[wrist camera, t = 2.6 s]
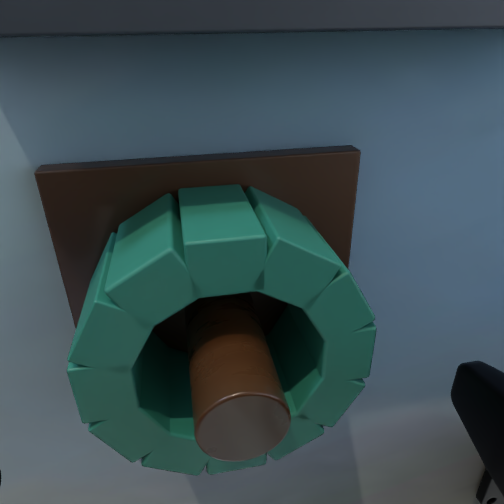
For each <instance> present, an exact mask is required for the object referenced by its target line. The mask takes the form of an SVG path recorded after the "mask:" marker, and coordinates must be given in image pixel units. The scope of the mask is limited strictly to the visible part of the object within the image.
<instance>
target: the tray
mask: <svg viewBox="0 0 504 504" xmlns="http://www.w3.org/2000/svg"><path fill="white" fill-rule="evenodd" d="M449 29H504V0H0V37H44V36H102V35H160V34H218V33H276V32H334V31H391V30H449Z"/></svg>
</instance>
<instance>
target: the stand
mask: <svg viewBox="0 0 504 504" xmlns="http://www.w3.org/2000/svg"><path fill="white" fill-rule="evenodd" d="M360 154H361V152H360V150H358V149H357V148H355V147H353V146H351V145H349V146H333V147H317V148H302V149H286V150H270V151H255V152H239V153H223V154H208V155H192V156H176V157H161V158H145V159H129V160H114V161H98V162H82V163H67V164H51V165H41V166H40V167H39V168H38V169H37V170H36V171H35V173H34V174H35V178H36V182H37V186H38V189H39V193H40V197H41V201H42V204H43V208H44V212H45V215H46V219H47V223H48V227H49V230H50V234H51V238H52V242H53V245H54V249H55V253H56V256H57V260H58V264H59V268H60V271H61V275H62V279H63V283H64V286H65V290H66V294H67V297H68V301H69V305H70V309H71V312H72V316H73V320H74V324H75V327H76V328H77V325H78V321H79V318H80V315H81V311H82V308H83V305H84V301H85V298H86V294H87V291H88V288H89V284H90V281H91V278H92V276H93V274H94V271H95V269H96V267H97V265H98V262H99V260H100V258H101V256H102V253H103V251H104V249H105V247H106V244H107V242H108V240H109V237H110V235H111V233H112V232H114V233H117V232H118V228H119V225H120V224H121V223H123V222H124V221H126V220H127V219H129V218H130V217H132V216H133V215H135V214H136V213H138V212H139V211H141V210H142V209H144V208H145V207H147V206H149V205H150V204H152V203H153V202H155V201H156V200H158V199H159V198H161V197H162V196H164V195H165V194H167V193H170V194H171V195H172V196H173V197H174V199H175V200H176V201H177V203H178V204H179V197H178V190H179V189H181V188H194V187H207V186H220V185H233V184H239V185H240V186H241V188H242V190H243V191H244V193H245V192H246V190H247V188H248V187H249V186H252V187H254V188H256V189H258V190H260V191H262V192H264V193H266V194H268V195H270V196H272V197H274V198H276V199H279V200H281V201H283V202H285V203H287V204H289V205H291V206H293V207H295V208H297V209H298V210H299V211H300V212H301V214H302V215H303V216H306V217H307V218H308V219H309V221H310V222H311V223H312V225H313V226H314V227H315V228H316V230H317V231H318V232H319V233H320V235H321V236H322V237H323V238H324V240H325V241H326V242H327V243H328V245H329V246H330V247H331V248H332V250H333V251H334V252H335V253H336V255H337V256H338V257H339V259H340V260H341V261H342V262H343V264H344V265H345V266H346V267H347V269H348V266H349V257H350V247H351V238H352V229H353V219H354V210H355V200H356V191H357V182H358V172H359V163H360ZM287 305H288V303H286V302H284V301H281V300H278V299H276V298H273V297H270V296H268V295H265V294H262V293H259V292H257V291H256V292H247V293H239V294H230V295H222V296H214V297H205V298H199V299H197V300H196V301H194V302H192V303H191V304H189V305H188V306H186V307H184V308H183V309H181V310H180V311H178V312H176V313H175V314H173V315H172V316H170V317H168V318H167V319H165V320H164V321H162V322H160V323H159V324H157V325H156V326H154V328H153V329H152V331H153V332H154V333H155V334H156V335H157V336H158V337H159V338H160V339H161V340H162V341H163V342H164V343H165V344H166V345H167V346H168V347H169V348H173V349H176V350H180V351H183V352H187V353H188V361H189V373H190V386H191V398H192V411H193V424H194V436H195V440H196V442H197V444H198V446H199V447H200V449H201V450H202V451H203V452H204V453H206V454H207V455H208V456H210V457H212V458H215V459H218V460H222V461H232V462H235V461H245V460H249V459H253V458H256V457H259V456H261V455H263V454H265V453H267V452H269V451H270V450H272V449H273V448H275V447H276V446H277V445H278V444H279V443H280V442H281V441H282V440H283V439H284V438H285V436H286V434H287V433H288V430H289V428H290V423H291V413H290V409H289V406H288V403H287V400H286V397H285V394H284V392H283V389H282V386H281V383H280V380H279V377H278V374H277V371H276V368H275V365H274V362H273V359H272V356H271V353H270V350H269V347H268V344H267V342H266V339H265V336H266V335H268V334H269V333H270V331H271V330H272V328H273V327H274V325H275V324H276V322H277V321H278V319H279V318H280V316H281V314H282V313H283V311H284V310H285V308H286V307H287Z"/></svg>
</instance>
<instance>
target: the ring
mask: <svg viewBox="0 0 504 504" xmlns="http://www.w3.org/2000/svg"><path fill="white" fill-rule="evenodd" d="M178 197H179V204H178V203H177V201H176V200H175V199H174V197H173V196H172V195H171V194H170V193H167V194H165V195H164V196H162V197H161V198H159V199H158V200H156V201H155V202H153V203H152V204H150V205H149V206H147V207H145V208H144V209H142V210H141V211H139V212H138V213H136V214H135V215H133V216H132V217H130V218H129V219H127V220H126V221H124V222H123V223H121V224H120V225H119V228H118V232H117V233H114V232H112V233H111V235H110V237H109V240H108V242H107V244H106V247H105V249H104V251H103V253H102V256H101V258H100V260H99V262H98V265H97V267H96V269H95V271H94V274H93V276H92V278H91V281H90V284H89V288H88V291H87V294H86V298H85V301H84V305H83V308H82V311H81V315H80V318H79V321H78V325H77V328H76V332H75V335H74V338H73V342H72V345H71V349H70V352H69V355H68V361H69V365H68V368H67V373H68V377H69V380H70V384H71V387H72V390H73V394H74V397H75V400H76V404H77V407H78V410H79V414H80V417H81V420H82V423H89V428H88V430H89V432H91V433H92V434H93V435H95V436H96V437H98V438H99V439H100V440H102V441H103V442H104V443H106V444H107V445H109V446H110V447H111V448H113V449H114V450H115V451H117V452H118V453H120V454H121V455H122V456H124V457H125V458H126V459H128V460H129V461H131V462H135V461H137V460H139V459H140V458H142V466H144V467H150V468H155V469H161V470H167V471H173V472H179V473H185V474H191V475H199V474H200V473H201V472H202V470H203V469H204V467H205V466H206V468H207V472H208V474H210V475H213V474H218V473H223V472H229V471H234V470H239V469H245V468H250V467H255V466H261V465H264V464H266V460H267V453H268V454H269V455H270V456H271V457H272V458H273V459H274V460H278V459H280V458H282V457H284V456H285V455H287V454H289V453H291V452H292V451H294V450H296V449H298V448H299V447H301V446H303V445H305V444H306V443H308V442H310V441H312V440H313V439H315V438H317V437H319V436H321V435H322V434H323V433H324V428H323V426H322V425H324V426H328V427H333V426H334V425H335V424H336V422H337V421H338V420H339V418H340V417H341V416H342V415H343V413H344V412H345V411H346V410H347V408H348V407H349V406H350V405H351V403H352V402H353V401H354V400H355V398H356V397H357V396H358V395H359V393H360V392H361V391H362V390H363V388H364V387H365V383H364V381H363V379H362V378H367V377H369V374H370V368H371V362H372V355H373V349H374V342H375V336H376V326H375V324H374V323H373V322H372V321H374V320H375V315H374V313H373V312H372V310H371V308H370V306H369V305H368V303H367V301H366V299H365V297H364V296H363V294H362V292H361V290H360V289H359V287H358V285H357V283H356V281H355V280H354V278H353V276H352V274H351V273H350V271H349V270H348V269H347V267H346V266H345V265H344V264H343V262H342V261H341V260H340V259H339V257H338V256H337V255H336V253H335V252H334V251H333V250H332V248H331V247H330V246H329V245H328V243H327V242H326V241H325V240H324V238H323V237H322V236H321V235H320V233H319V232H318V231H317V230H316V228H315V227H314V226H313V225H312V223H311V222H310V221H309V219H308V218H307V217H306V216H303V215H302V214H301V212H300V211H299V210H298V209H297V208H295V207H293V206H291V205H289V204H287V203H285V202H283V201H281V200H279V199H276V198H274V197H272V196H270V195H268V194H266V193H264V192H262V191H260V190H258V189H256V188H254V187H252V186H249V187H248V188H247V190H246V192H245V193H244V191H243V190H242V188H241V186H240V185H239V184H233V185H220V186H207V187H194V188H181V189H179V190H178ZM256 291H257V292H259V293H262V294H265V295H268V296H270V297H273V298H276V299H278V300H281V301H284V302H286V303H288V305H287V307H286V308H285V310H284V311H283V313H282V314H281V316H280V318H279V319H278V321H277V322H276V324H275V325H274V327H273V328H272V330H271V331H270V333H269V334H268V335H266V336H265V339H266V342H267V344H268V347H269V350H270V353H271V356H272V359H273V362H274V365H275V368H276V371H277V374H278V377H279V380H280V383H281V386H282V389H283V392H284V394H285V397H286V400H287V403H288V406H289V409H290V413H291V423H290V428H289V430H288V433H287V434H286V436H285V438H284V439H283V440H282V441H281V442H280V443H279V444H278V445H277V446H276V447H275V448H273V449H272V450H270V451H269V452H267V453H265V454H263V455H261V456H259V457H256V458H253V459H249V460H245V461H235V462H232V461H222V460H218V459H215V458H212V457H210V456H208V455H207V454H206V453H204V452H203V451H202V450H201V449H200V447H199V446H198V444H197V442H196V440H195V436H194V424H193V411H192V398H191V386H190V373H189V361H188V353H187V352H183V351H180V350H176V349H173V348H169V347H168V346H167V345H166V344H165V343H164V342H163V341H162V340H161V339H160V338H159V337H158V336H157V335H156V334H155V333H154V332H153V331H152V329H153V328H154V326H156V325H157V324H159V323H160V322H162V321H164V320H165V319H167V318H168V317H170V316H172V315H173V314H175V313H176V312H178V311H180V310H181V309H183V308H184V307H186V306H188V305H189V304H191V303H192V302H194V301H196V300H197V299H199V298H205V297H214V296H222V295H230V294H239V293H247V292H256Z"/></svg>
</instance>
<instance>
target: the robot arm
mask: <svg viewBox="0 0 504 504" xmlns="http://www.w3.org/2000/svg"><path fill="white" fill-rule="evenodd" d="M451 399H452V402H453V405H454V407H455V409H456V411H457V413H458V415H459V417H460V418H461V420H462V422H463V424H464V426H465V428H466V430H467V432H468V434H469V436H470V438H471V440H472V442H473V444H474V446H475V448H476V449H477V451H478V453H479V455H480V457H481V459H482V461H483V463H484V465H485V467H486V471H485V474H484V476H483V479H482V481H481V484H480V486H479V489H478V492H477V494H476V498H477V499H478V501H479V502H480V504H504V373H503V372H501V371H499V370H497V369H495V368H493V367H492V366H490V365H488V364H486V363H483V362H481V361H473V362H467V363H462V364H460V365H459V366H458V368H457V372H456V375H455V379H454V382H453V386H452V389H451ZM0 485H1V470H0Z"/></svg>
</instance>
